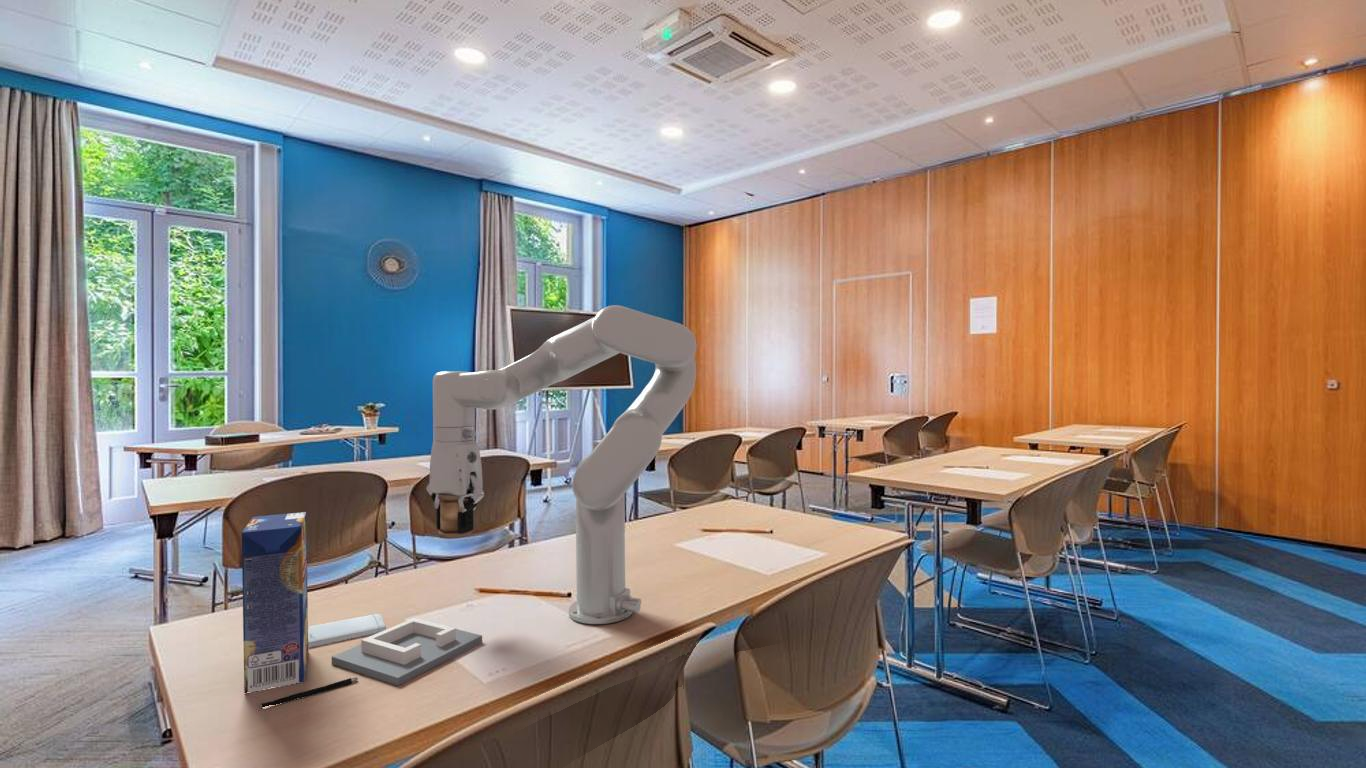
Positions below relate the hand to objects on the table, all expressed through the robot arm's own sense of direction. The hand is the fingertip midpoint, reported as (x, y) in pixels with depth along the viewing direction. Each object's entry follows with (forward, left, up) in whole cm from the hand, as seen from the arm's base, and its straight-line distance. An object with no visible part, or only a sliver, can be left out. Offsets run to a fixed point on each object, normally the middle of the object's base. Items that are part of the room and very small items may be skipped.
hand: (455, 528), depth 118 cm
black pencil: (-3, +30, -18) cm, 35 cm away
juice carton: (+9, +28, -18) cm, 34 cm away
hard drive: (+14, +13, -18) cm, 27 cm away
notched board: (-4, +14, -18) cm, 23 cm away
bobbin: (0, 0, -1) cm, 1 cm away
